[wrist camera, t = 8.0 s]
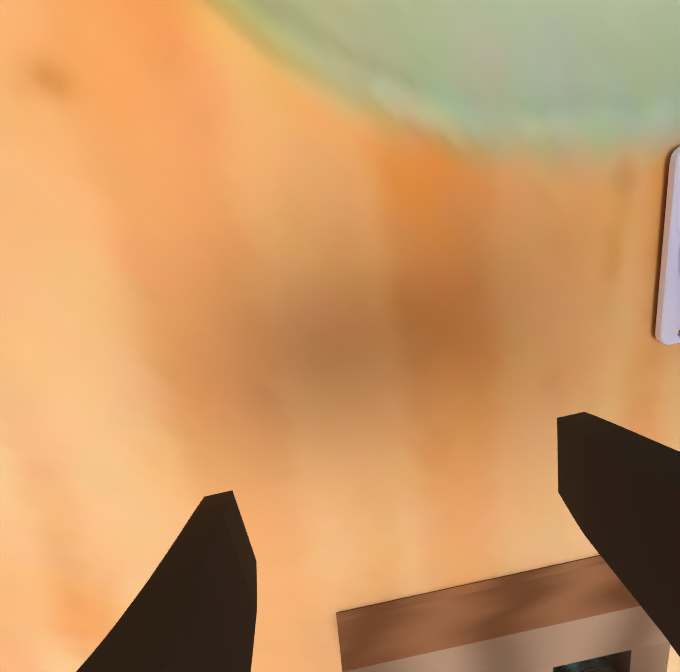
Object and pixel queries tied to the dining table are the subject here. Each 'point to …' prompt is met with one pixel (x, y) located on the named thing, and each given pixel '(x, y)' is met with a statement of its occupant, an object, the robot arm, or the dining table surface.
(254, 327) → the dining table surface
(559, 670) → the pin
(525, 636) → the hole block
